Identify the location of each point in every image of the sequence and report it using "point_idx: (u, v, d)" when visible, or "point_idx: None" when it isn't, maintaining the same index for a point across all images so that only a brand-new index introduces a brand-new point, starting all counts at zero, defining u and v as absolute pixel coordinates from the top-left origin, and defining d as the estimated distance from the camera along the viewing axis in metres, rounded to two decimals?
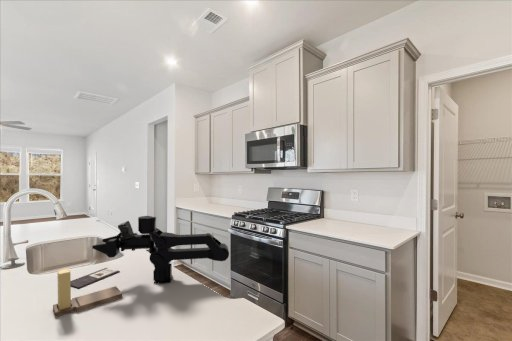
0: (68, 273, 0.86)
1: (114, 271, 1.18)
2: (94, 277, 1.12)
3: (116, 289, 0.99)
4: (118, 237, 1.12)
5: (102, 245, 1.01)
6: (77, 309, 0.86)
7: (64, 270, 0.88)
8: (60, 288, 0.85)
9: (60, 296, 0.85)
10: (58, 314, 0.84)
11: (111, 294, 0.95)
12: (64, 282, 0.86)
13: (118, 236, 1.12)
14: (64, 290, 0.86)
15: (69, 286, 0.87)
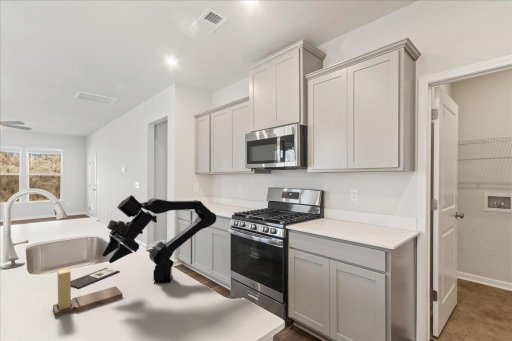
0: (68, 273, 0.86)
1: (114, 271, 1.18)
2: (94, 277, 1.12)
3: (116, 289, 0.99)
4: (113, 240, 1.03)
5: (117, 252, 0.94)
6: (77, 309, 0.86)
7: (64, 270, 0.88)
8: (60, 288, 0.85)
9: (60, 296, 0.85)
10: (58, 314, 0.84)
11: (111, 294, 0.95)
12: (64, 282, 0.86)
13: (112, 240, 1.02)
14: (64, 290, 0.86)
15: (69, 286, 0.87)
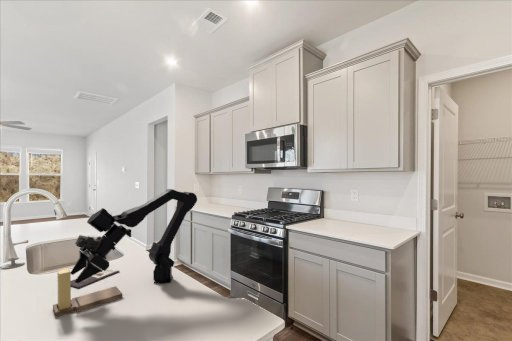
0: (68, 273, 0.86)
1: (114, 271, 1.18)
2: (94, 277, 1.12)
3: (116, 289, 0.99)
4: (83, 257, 0.95)
5: (85, 271, 0.86)
6: (77, 309, 0.86)
7: (64, 270, 0.88)
8: (60, 288, 0.85)
9: (60, 296, 0.85)
10: (58, 314, 0.84)
11: (111, 294, 0.95)
12: (64, 282, 0.86)
13: (82, 256, 0.95)
14: (64, 290, 0.86)
15: (69, 286, 0.87)
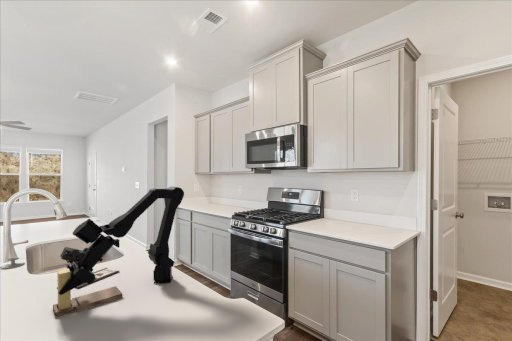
0: (68, 273, 0.86)
1: (114, 271, 1.18)
2: None
3: (116, 289, 0.99)
4: (71, 271, 0.91)
5: (69, 282, 0.85)
6: (77, 309, 0.86)
7: (64, 270, 0.88)
8: (60, 288, 0.85)
9: (60, 296, 0.85)
10: (58, 314, 0.84)
11: (111, 294, 0.95)
12: (64, 282, 0.86)
13: (70, 270, 0.91)
14: None
15: None
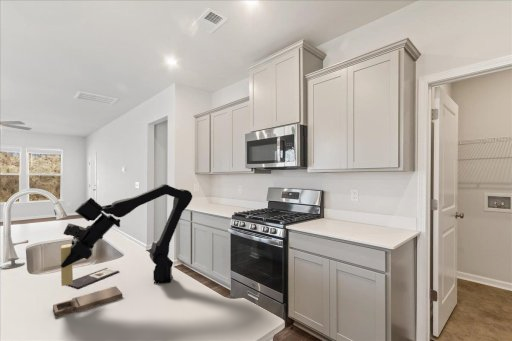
0: (69, 248, 0.91)
1: (114, 271, 1.18)
2: (94, 277, 1.12)
3: (116, 289, 0.99)
4: None
5: (69, 256, 0.90)
6: (77, 309, 0.86)
7: (67, 245, 0.93)
8: (62, 261, 0.90)
9: (61, 269, 0.90)
10: (58, 314, 0.84)
11: (111, 294, 0.95)
12: (65, 256, 0.90)
13: None
14: None
15: None
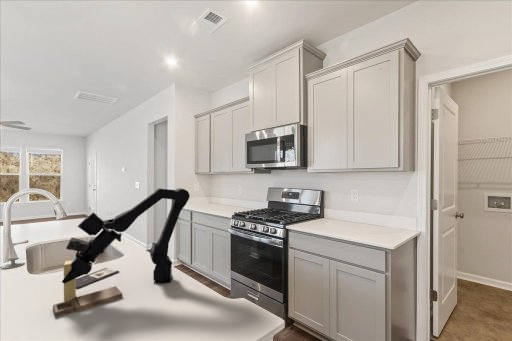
0: None
1: (114, 271, 1.18)
2: (93, 277, 1.12)
3: (116, 289, 0.99)
4: None
5: (70, 272, 0.91)
6: (77, 309, 0.86)
7: (70, 261, 0.96)
8: None
9: (64, 285, 0.93)
10: (58, 314, 0.84)
11: (111, 294, 0.95)
12: (68, 272, 0.93)
13: None
14: None
15: None
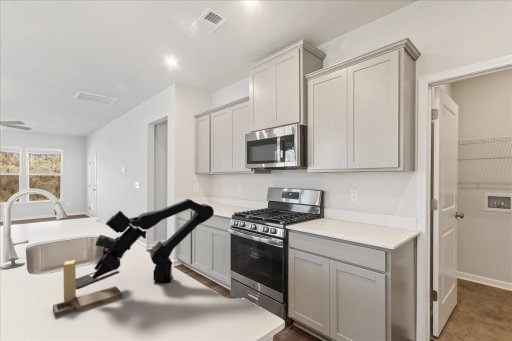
0: (72, 264, 0.94)
1: (114, 271, 1.18)
2: None
3: (116, 289, 0.99)
4: (106, 254, 1.05)
5: (100, 268, 0.95)
6: (77, 309, 0.86)
7: (70, 261, 0.96)
8: (64, 278, 0.93)
9: (64, 285, 0.93)
10: (58, 314, 0.84)
11: (111, 294, 0.95)
12: (68, 273, 0.93)
13: (105, 254, 1.05)
14: (68, 280, 0.93)
15: (72, 277, 0.94)
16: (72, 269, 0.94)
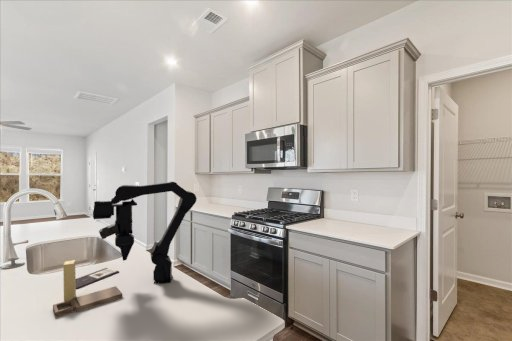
0: (71, 264, 0.94)
1: (113, 271, 1.18)
2: (93, 277, 1.12)
3: (116, 289, 0.99)
4: None
5: (122, 250, 0.98)
6: (77, 309, 0.86)
7: (70, 261, 0.96)
8: (64, 278, 0.93)
9: (64, 285, 0.93)
10: (58, 314, 0.84)
11: (111, 294, 0.95)
12: (68, 273, 0.93)
13: None
14: (68, 280, 0.93)
15: (72, 276, 0.94)
16: (72, 269, 0.94)
